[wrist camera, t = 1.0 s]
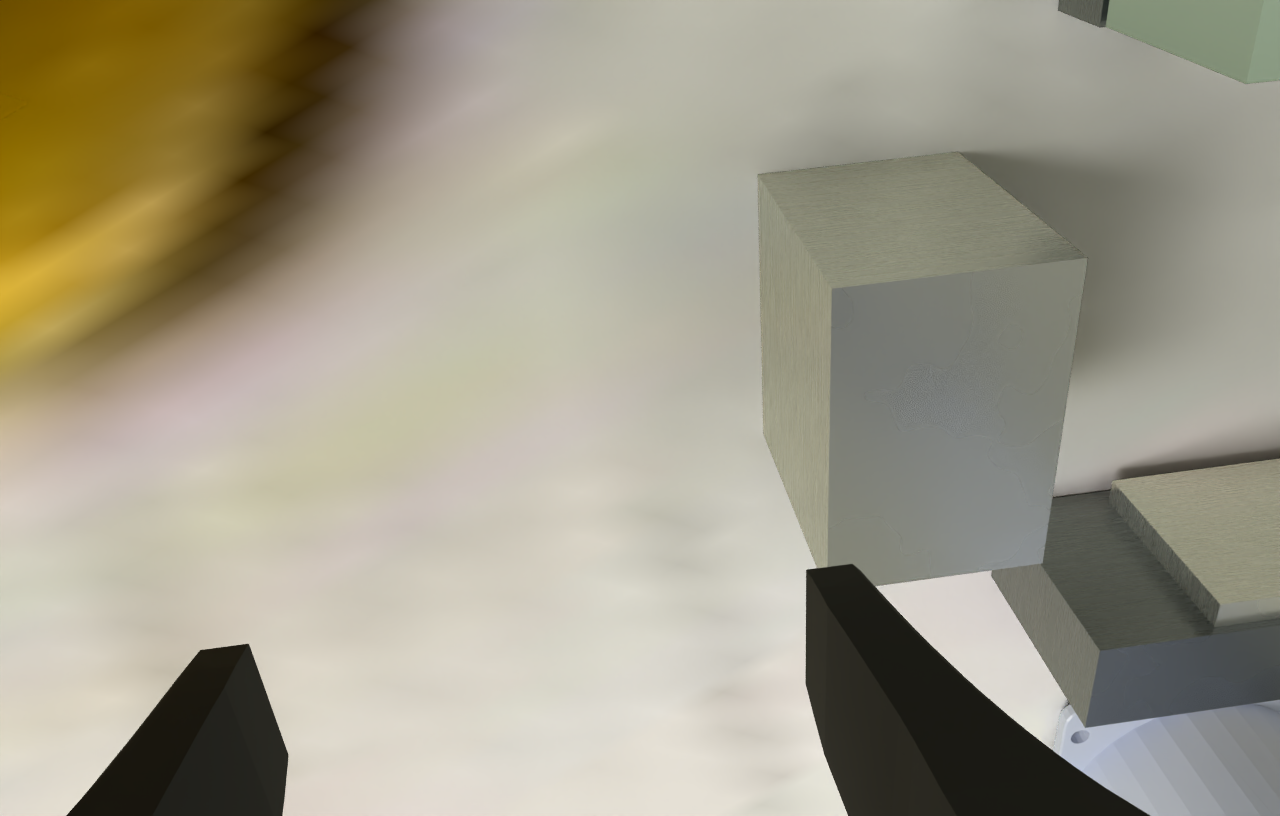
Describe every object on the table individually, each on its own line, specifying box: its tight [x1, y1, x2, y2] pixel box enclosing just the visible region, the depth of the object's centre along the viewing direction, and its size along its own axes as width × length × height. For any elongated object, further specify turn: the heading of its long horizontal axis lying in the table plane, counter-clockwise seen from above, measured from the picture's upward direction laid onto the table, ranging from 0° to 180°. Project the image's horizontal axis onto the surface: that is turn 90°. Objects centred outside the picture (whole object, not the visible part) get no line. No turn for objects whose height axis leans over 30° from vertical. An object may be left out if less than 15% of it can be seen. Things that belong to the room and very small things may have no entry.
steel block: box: [758, 152, 1088, 586], centre depth 20 cm, size 6×4×6 cm, turn 4°
